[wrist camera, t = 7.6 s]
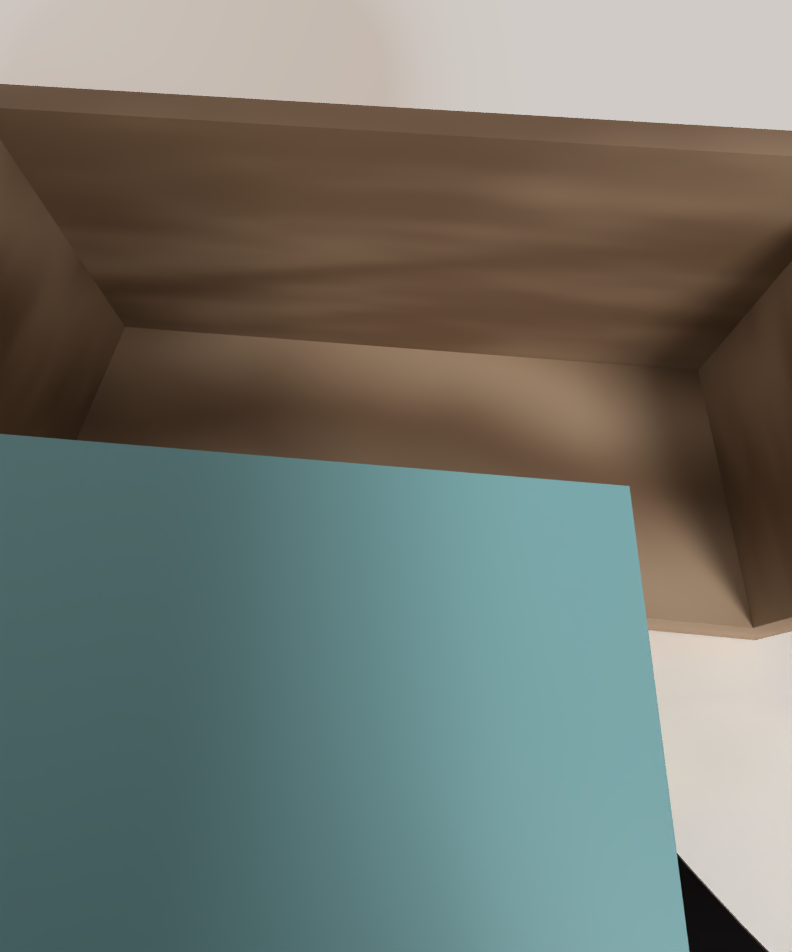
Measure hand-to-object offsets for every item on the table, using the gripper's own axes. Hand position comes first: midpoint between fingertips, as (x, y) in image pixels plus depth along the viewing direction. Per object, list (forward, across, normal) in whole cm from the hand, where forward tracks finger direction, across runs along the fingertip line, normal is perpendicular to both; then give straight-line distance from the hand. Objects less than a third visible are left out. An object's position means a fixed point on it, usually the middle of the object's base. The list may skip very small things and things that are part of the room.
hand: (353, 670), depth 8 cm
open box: (+11, 0, -1) cm, 11 cm away
